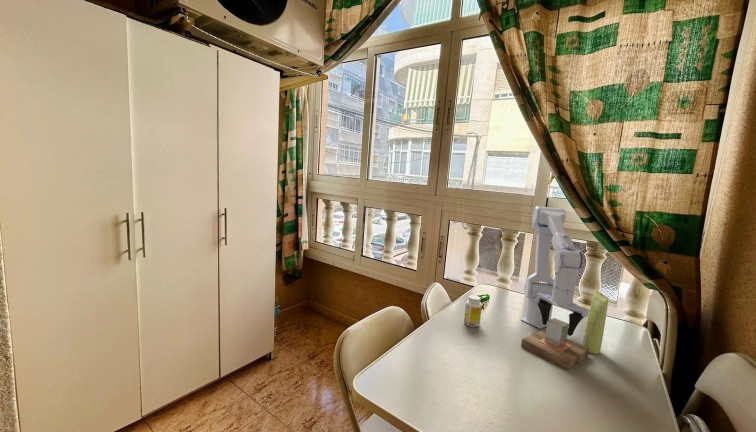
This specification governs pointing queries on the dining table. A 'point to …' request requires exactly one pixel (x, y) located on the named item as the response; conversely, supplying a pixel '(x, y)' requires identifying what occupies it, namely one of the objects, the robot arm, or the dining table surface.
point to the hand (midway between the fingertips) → (557, 329)
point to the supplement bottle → (473, 311)
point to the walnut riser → (555, 350)
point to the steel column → (556, 333)
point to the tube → (596, 323)
